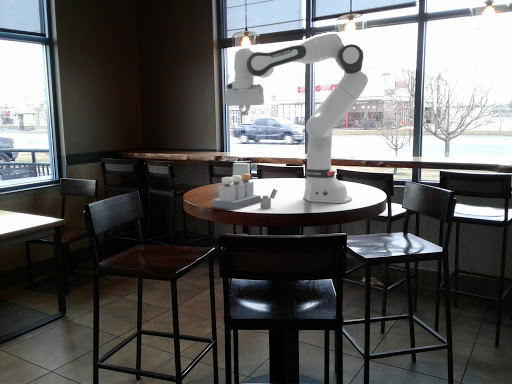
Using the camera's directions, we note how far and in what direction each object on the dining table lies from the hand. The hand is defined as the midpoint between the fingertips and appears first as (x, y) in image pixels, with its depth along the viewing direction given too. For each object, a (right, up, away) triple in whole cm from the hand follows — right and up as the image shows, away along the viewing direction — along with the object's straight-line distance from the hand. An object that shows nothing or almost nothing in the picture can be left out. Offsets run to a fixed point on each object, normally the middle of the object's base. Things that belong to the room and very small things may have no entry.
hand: (244, 115), depth 208 cm
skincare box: (-2, -36, +26) cm, 44 cm away
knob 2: (+1, -37, -6) cm, 38 cm away
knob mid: (-3, -38, -12) cm, 40 cm away
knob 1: (-7, -39, -18) cm, 44 cm away
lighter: (+11, -43, -19) cm, 48 cm away
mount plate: (-3, -42, -12) cm, 43 cm away
